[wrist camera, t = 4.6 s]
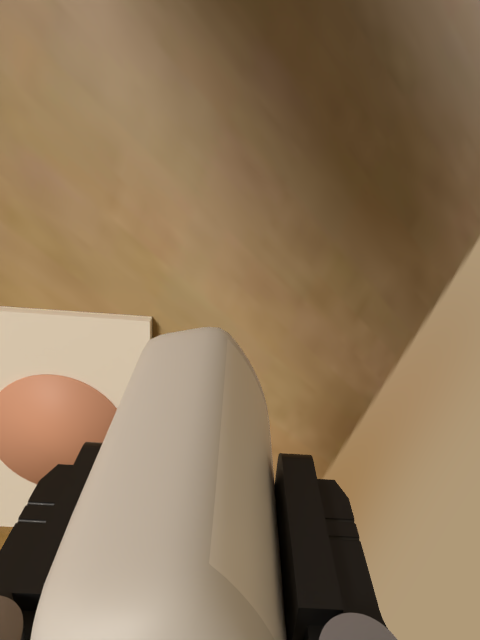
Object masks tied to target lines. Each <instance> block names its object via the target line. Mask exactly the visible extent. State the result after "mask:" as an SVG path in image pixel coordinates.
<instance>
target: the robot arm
mask: <svg viewBox="0 0 480 640" xmlns="http://www.w3.org/2000/svg"><path fill="white" fill-rule="evenodd" d="M101 445H102V443H98V442H85V443H84V444H83V446H82V448H81V450H80V452H79V454H78V456H77V458H76V460H75V462H74V465H66V464H58V465H57V466H55V467H54V468H53V469H52V470H51V471H50V472H49V473H47V474H46V475H45V476H44V477H43V478H42V479H41V480H39V482H38V484H37V486H36V487H35V489H34V491H33V493H32V495H31V496H30V498H29V500H28V504H27V505H25V507H24V509H23V511H22V513H21V514H20V516H19V518H18V522H17V523H15V525H14V527H13V529H12V531H11V532H10V534H9V536H8V538H7V540H6V541H5V543H4V545H3V547H2V549H1V550H0V640H30V639H31V633H32V627H33V622H34V618H35V613H36V610H37V606H38V603H39V600H40V596H41V593H42V590H43V586H44V583H45V581H46V578H47V576H48V573H49V571H50V568H51V566H52V563H53V561H54V558H55V556H56V553H57V551H58V548H59V546H60V543H61V541H62V538H63V536H64V533H65V531H66V528H67V526H68V523H69V521H70V518H71V516H72V514H73V511H74V509H75V507H76V504H77V502H78V500H79V497H80V495H81V492H82V490H83V488H84V485H85V483H86V481H87V478H88V476H89V474H90V471H91V469H92V467H93V464H94V462H95V460H96V457H97V455H98V452H99V450H100V448H101ZM275 498H276V510H277V522H278V535H279V547H280V559H281V572H282V584H283V596H284V609H285V621H286V634H287V640H397V639H396V638H395V636H394V635H393V634H392V633H391V632H390V631H389V630H388V628H387V627H386V625H385V623H384V621H383V619H382V616H381V613H380V611H379V607H378V603H377V600H376V596H375V592H374V589H373V585H372V582H371V578H370V574H369V571H368V567H367V563H366V560H365V556H364V553H363V549H362V546H361V542H359V534H358V531H357V527H356V524H355V523H354V516H353V513H352V509H351V505H350V502H349V498H348V497H347V496H346V494H345V493H344V492H343V491H342V489H341V488H340V487H339V485H338V484H337V483H336V481H335V480H325V479H317V477H316V472H315V467H314V462H313V458H312V456H311V455H300V454H283V453H280V454H279V457H278V463H277V471H276V478H275Z"/></svg>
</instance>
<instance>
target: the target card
mask: <svg viewBox="0 0 480 640" xmlns="http://www.w3.org/2000/svg"><path fill="white" fill-rule="evenodd" d="M150 339H152V317H150V316H135V315H121V314H106V313H92V312H77V311H63V310H48V309H33V308H19V307H4V306H0V526H7V527H14V525H15V523H17V522H18V518H19V516H20V514H21V513H22V511H23V509H24V507H25V505H27V504H28V500H29V498H30V496H31V495H32V493H33V491H34V489H35V487H36V486H37V484H38V482H39V480H41V479H42V478H43V477H44V476H45V475H46V474H47V473H49V472H50V471H51V470H52V469H53V468H54V467H55V466H57V465H58V464H66V465H74V462H75V460H76V458H77V456H78V454H79V452H80V450H81V448H82V446H83V444H84V443H85V442H98V443H103V441H104V438H105V436H106V434H107V431H108V429H109V427H110V424H111V422H112V420H113V417H114V415H115V413H116V410H117V408H118V406H119V404H120V401H121V399H122V397H123V394H124V392H125V390H126V387H127V385H128V383H129V380H130V378H131V376H132V373H133V371H134V369H135V367H136V364H137V362H138V360H139V357H140V355H141V353H142V351H143V349H144V347H145V346H146V344H147V343H148V341H149V340H150Z"/></svg>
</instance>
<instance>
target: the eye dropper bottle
mask: <svg viewBox="0 0 480 640" xmlns="http://www.w3.org/2000/svg"><path fill="white" fill-rule="evenodd" d="M30 640H287V634H286V621H285V609H284V596H283V584H282V572H281V559H280V547H279V535H278V522H277V510H276V498H275V485H274V473H273V460H272V448H271V436H270V425H269V416H268V410H267V405H266V401H265V397H264V394H263V391H262V388H261V385H260V382H259V380H258V378H257V375H256V373H255V371H254V369H253V367H252V365H251V364H250V362H249V360H248V358H247V357H246V355H245V354H244V352H243V351H242V349H241V348H240V346H239V345H238V344H237V342H236V341H235V340H234V339H233V338H232V337H231V335H230V334H229V333H227V332H226V331H224V330H222V329H221V328H216V327H204V328H196V329H190V330H185V331H179V332H173V333H168V334H163V335H159V336H157V337H155V338H152V339H150V340H149V341H148V343H147V344H146V346H145V347H144V349H143V351H142V353H141V355H140V357H139V360H138V362H137V364H136V367H135V369H134V371H133V373H132V376H131V378H130V380H129V383H128V385H127V387H126V390H125V392H124V394H123V397H122V399H121V401H120V404H119V406H118V408H117V410H116V413H115V415H114V417H113V420H112V422H111V424H110V427H109V429H108V431H107V434H106V436H105V438H104V441H103V443H102V445H101V448H100V450H99V452H98V455H97V457H96V460H95V462H94V464H93V467H92V469H91V471H90V474H89V476H88V478H87V481H86V483H85V485H84V488H83V490H82V492H81V495H80V497H79V500H78V502H77V504H76V507H75V509H74V511H73V514H72V516H71V518H70V521H69V523H68V526H67V528H66V531H65V533H64V536H63V538H62V541H61V543H60V546H59V548H58V551H57V553H56V556H55V558H54V561H53V563H52V566H51V568H50V571H49V573H48V576H47V578H46V581H45V583H44V586H43V590H42V593H41V596H40V600H39V603H38V606H37V610H36V613H35V618H34V622H33V627H32V633H31V639H30Z"/></svg>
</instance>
